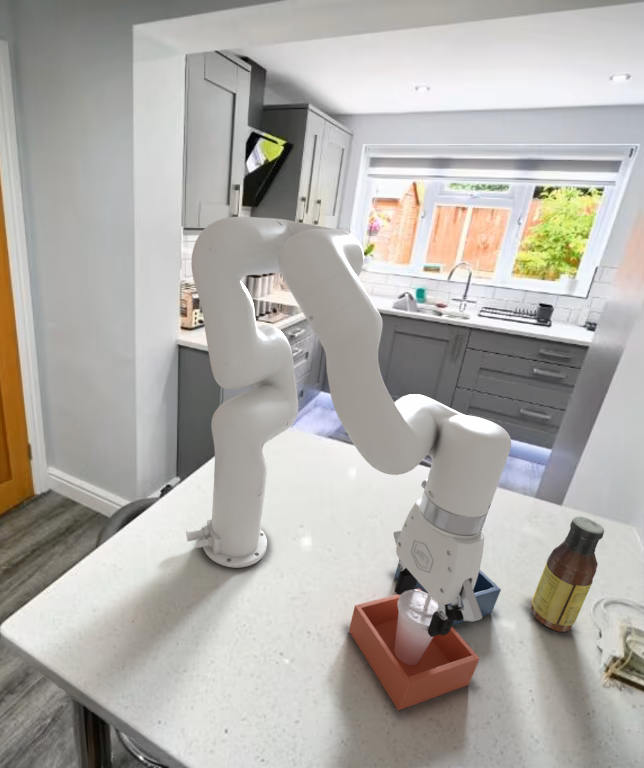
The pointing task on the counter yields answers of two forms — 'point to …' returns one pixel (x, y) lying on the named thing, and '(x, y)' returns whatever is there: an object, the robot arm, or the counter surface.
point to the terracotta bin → (402, 681)
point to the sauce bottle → (567, 576)
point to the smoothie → (413, 625)
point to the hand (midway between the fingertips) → (420, 610)
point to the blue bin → (483, 592)
